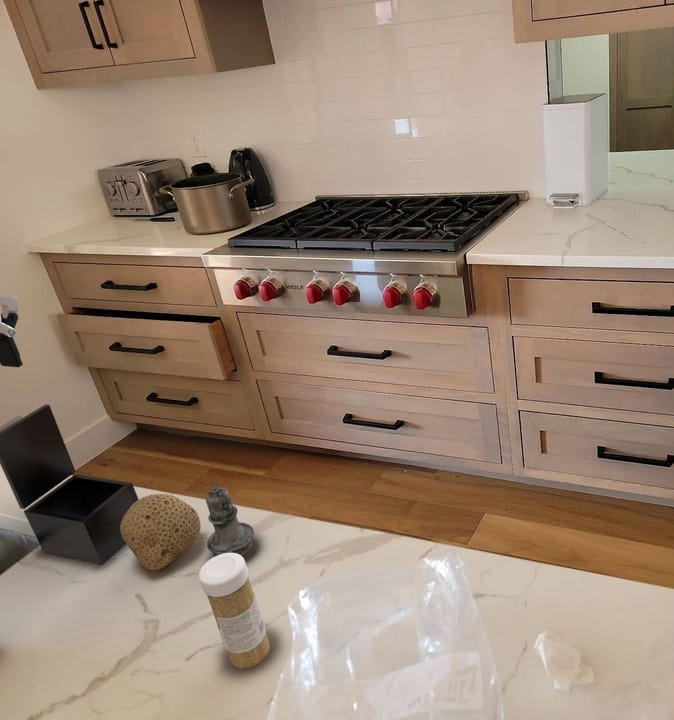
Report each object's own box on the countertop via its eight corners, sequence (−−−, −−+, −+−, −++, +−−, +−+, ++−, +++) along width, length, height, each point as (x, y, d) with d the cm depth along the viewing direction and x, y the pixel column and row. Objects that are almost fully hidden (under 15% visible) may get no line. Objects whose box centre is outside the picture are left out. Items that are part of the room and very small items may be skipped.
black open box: (150, 529, 97) (132, 482, 93) (105, 571, 90) (83, 522, 86) (94, 519, 100) (75, 473, 96) (46, 558, 93) (23, 511, 89)
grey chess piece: (224, 581, 86) (198, 506, 81) (207, 558, 90) (181, 485, 85) (267, 557, 89) (245, 483, 84) (248, 536, 93) (226, 465, 88)
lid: (49, 404, 91) (22, 400, 93) (-8, 439, 84) (-37, 433, 85) (76, 471, 96) (49, 466, 98) (24, 509, 89) (-4, 503, 91)
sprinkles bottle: (239, 642, 77) (207, 552, 71) (278, 640, 77) (250, 549, 71) (225, 677, 73) (190, 584, 67) (266, 675, 73) (235, 581, 67)
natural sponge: (200, 527, 96) (180, 469, 92) (216, 562, 89) (195, 501, 85) (132, 555, 92) (107, 496, 88) (143, 594, 85) (117, 532, 81)
